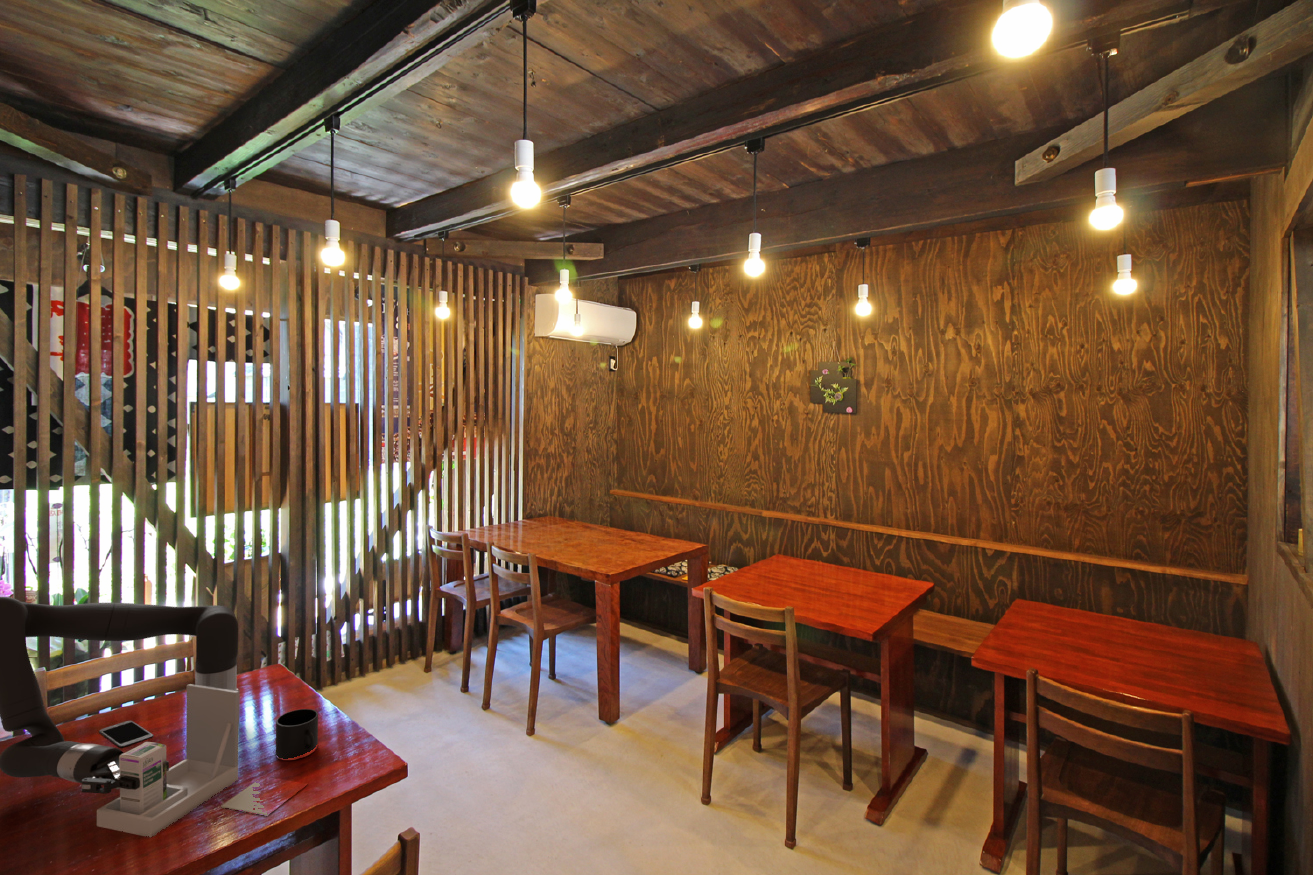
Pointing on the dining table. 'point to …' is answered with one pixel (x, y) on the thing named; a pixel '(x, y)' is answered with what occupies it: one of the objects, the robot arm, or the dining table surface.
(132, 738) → the smartphone
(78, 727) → the dining table surface
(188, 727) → the white l-shaped holder
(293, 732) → the mug
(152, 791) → the syrup box
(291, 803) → the dining table surface
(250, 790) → the rubber mat
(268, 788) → the dining table surface
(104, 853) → the dining table surface
